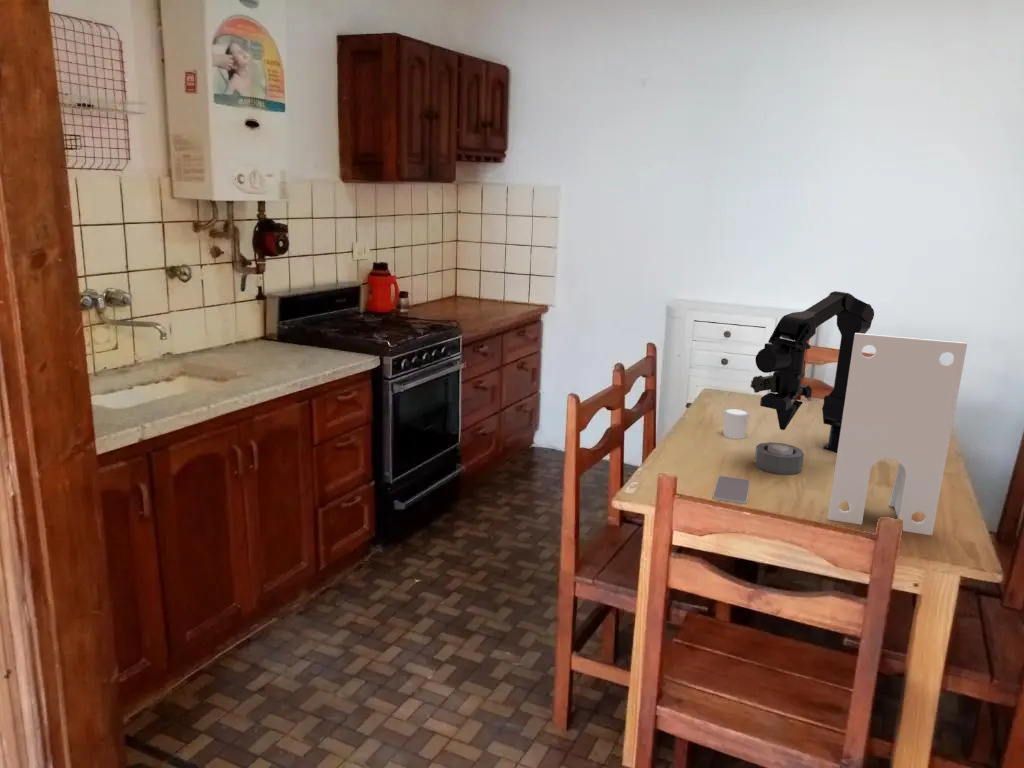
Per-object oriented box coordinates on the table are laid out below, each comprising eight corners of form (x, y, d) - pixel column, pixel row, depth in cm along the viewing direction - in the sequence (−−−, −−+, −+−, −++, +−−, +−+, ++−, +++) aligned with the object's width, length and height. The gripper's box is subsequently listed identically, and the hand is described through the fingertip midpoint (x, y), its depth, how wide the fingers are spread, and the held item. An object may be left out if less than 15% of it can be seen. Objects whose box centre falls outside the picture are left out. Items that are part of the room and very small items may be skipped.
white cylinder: (751, 438, 223) (754, 414, 221) (731, 440, 220) (733, 416, 218) (736, 431, 229) (739, 407, 227) (716, 433, 226) (718, 409, 224)
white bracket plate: (921, 509, 178) (953, 331, 168) (932, 535, 165) (967, 343, 155) (825, 495, 184) (850, 322, 174) (828, 519, 171) (855, 333, 161)
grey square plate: (750, 480, 190) (746, 502, 176) (750, 483, 191) (746, 506, 177) (718, 475, 193) (712, 496, 179) (718, 478, 193) (711, 500, 179)
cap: (771, 457, 205) (773, 442, 204) (794, 462, 201) (796, 447, 200) (762, 463, 200) (764, 447, 199) (786, 469, 197) (788, 453, 196)
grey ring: (764, 456, 208) (766, 439, 207) (807, 466, 202) (809, 449, 201) (747, 466, 200) (749, 449, 199) (791, 478, 194) (793, 460, 192)
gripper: (772, 356, 207) (765, 415, 210) (742, 368, 192) (735, 430, 196) (816, 364, 200) (808, 424, 204) (788, 376, 186) (780, 441, 190)
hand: (782, 429), depth 199 cm, fingers closed
